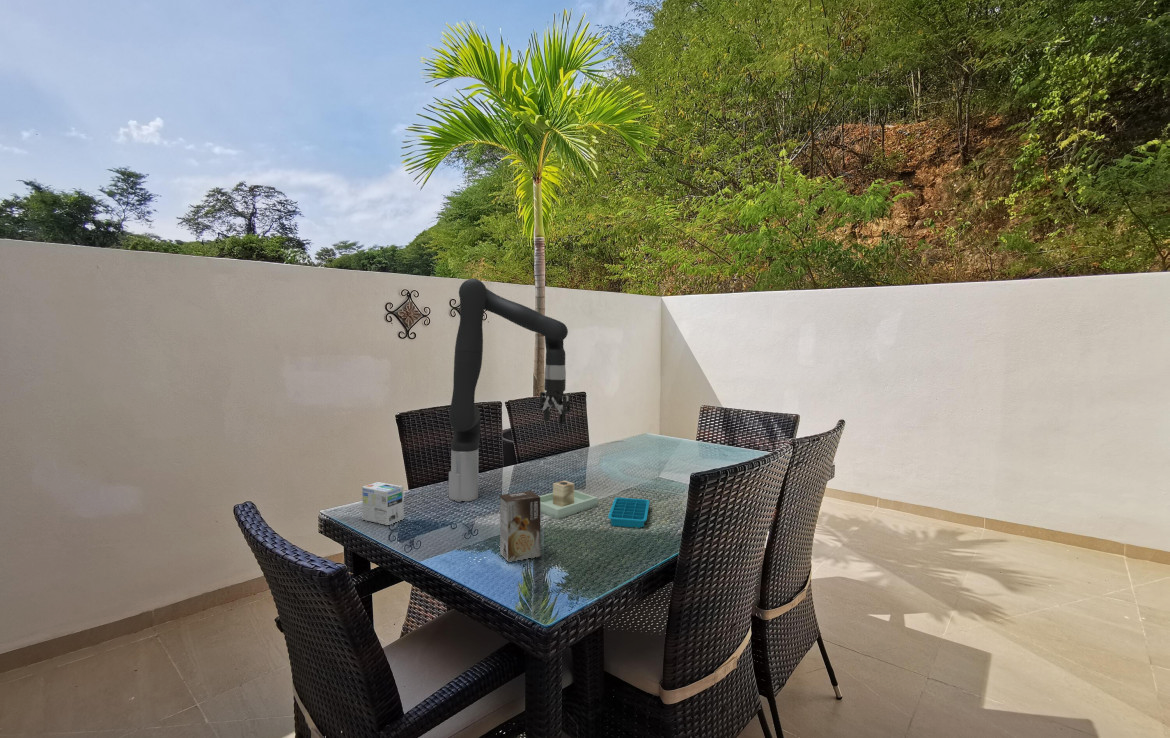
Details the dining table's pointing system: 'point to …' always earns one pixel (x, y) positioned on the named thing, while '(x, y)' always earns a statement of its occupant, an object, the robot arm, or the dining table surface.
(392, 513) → the light bulb box
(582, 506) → the tray
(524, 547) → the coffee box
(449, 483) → the robot arm
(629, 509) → the ice cube tray
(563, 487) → the birch block
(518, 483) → the dining table surface
